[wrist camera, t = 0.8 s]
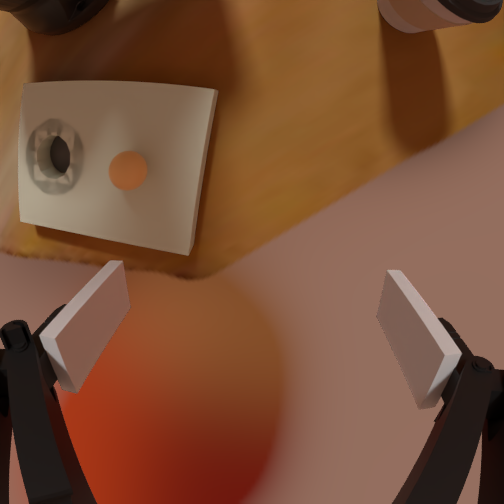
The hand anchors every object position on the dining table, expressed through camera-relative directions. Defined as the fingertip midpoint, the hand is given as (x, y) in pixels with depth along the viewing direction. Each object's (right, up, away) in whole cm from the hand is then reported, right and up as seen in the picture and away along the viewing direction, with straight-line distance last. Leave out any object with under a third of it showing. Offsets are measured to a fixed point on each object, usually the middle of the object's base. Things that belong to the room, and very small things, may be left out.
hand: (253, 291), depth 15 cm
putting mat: (-17, +13, +18) cm, 28 cm away
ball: (-12, +10, +14) cm, 21 cm away
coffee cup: (+17, +30, +10) cm, 36 cm away
